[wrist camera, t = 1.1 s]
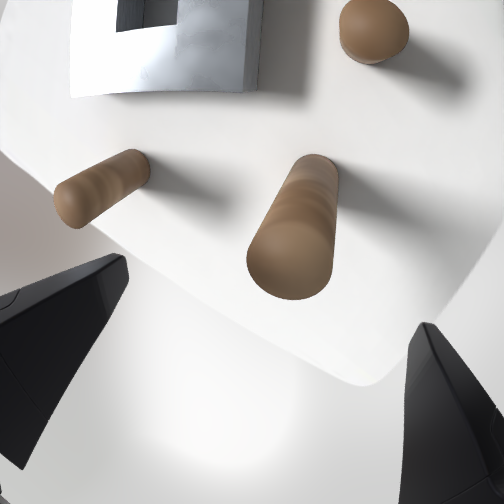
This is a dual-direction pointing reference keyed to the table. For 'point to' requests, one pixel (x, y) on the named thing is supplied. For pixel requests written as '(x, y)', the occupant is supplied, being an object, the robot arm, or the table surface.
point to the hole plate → (165, 47)
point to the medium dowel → (100, 187)
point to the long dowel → (298, 232)
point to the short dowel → (372, 30)
